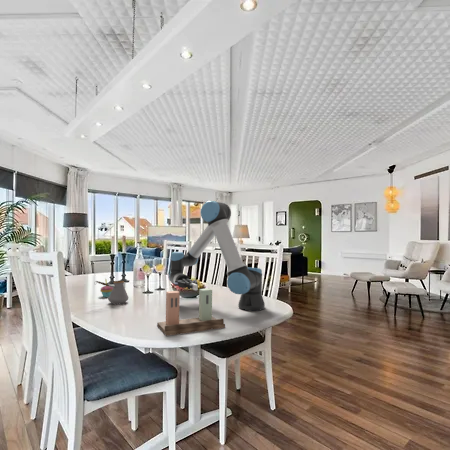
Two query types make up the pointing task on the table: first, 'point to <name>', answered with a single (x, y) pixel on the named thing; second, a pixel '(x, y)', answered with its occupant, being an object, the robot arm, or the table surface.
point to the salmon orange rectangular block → (172, 307)
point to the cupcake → (106, 290)
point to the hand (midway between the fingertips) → (196, 287)
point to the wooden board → (190, 326)
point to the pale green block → (205, 304)
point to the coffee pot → (117, 292)
